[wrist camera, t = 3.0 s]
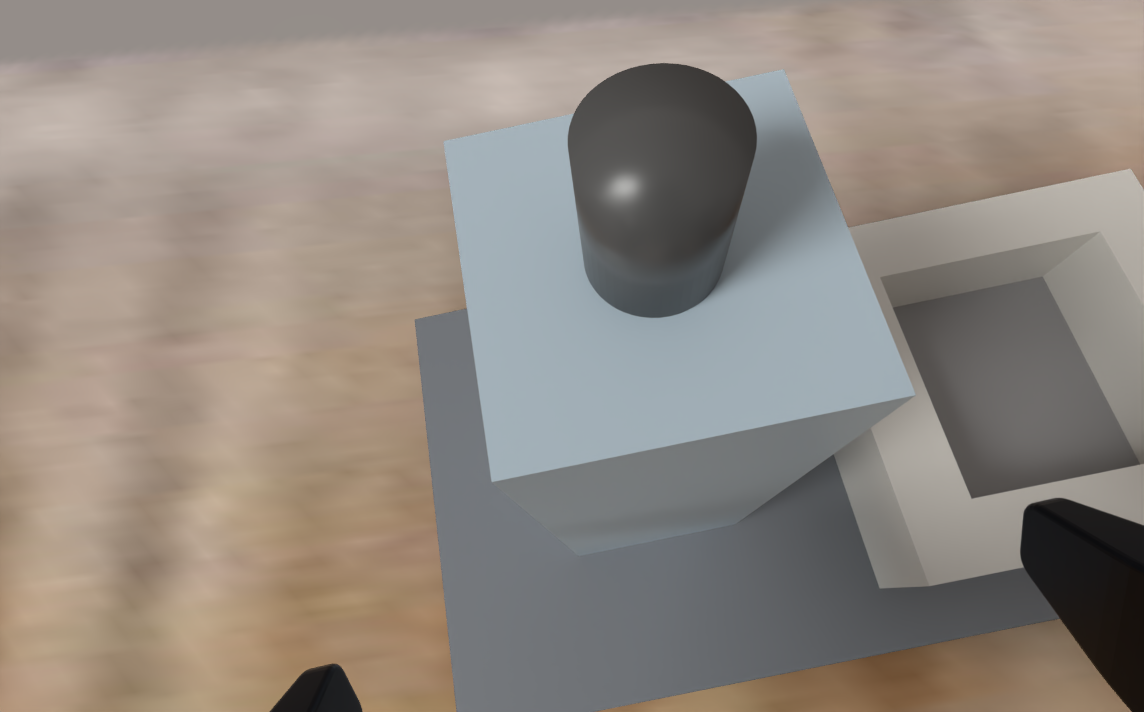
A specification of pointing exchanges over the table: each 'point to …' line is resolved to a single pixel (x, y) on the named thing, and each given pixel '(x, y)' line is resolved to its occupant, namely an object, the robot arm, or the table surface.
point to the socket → (1003, 375)
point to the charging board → (661, 582)
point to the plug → (664, 306)
